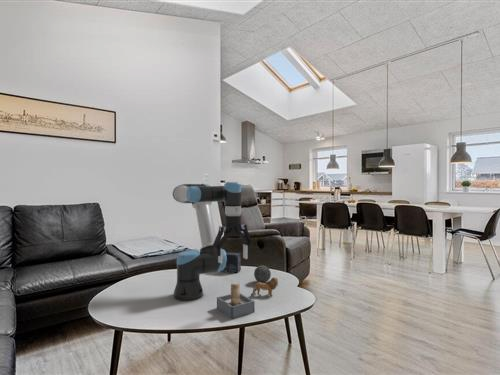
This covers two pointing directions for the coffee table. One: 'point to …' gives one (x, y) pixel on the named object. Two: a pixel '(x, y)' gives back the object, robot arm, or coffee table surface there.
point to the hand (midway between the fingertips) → (233, 260)
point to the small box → (232, 262)
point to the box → (237, 310)
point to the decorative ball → (262, 274)
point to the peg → (235, 294)
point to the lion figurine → (266, 286)
